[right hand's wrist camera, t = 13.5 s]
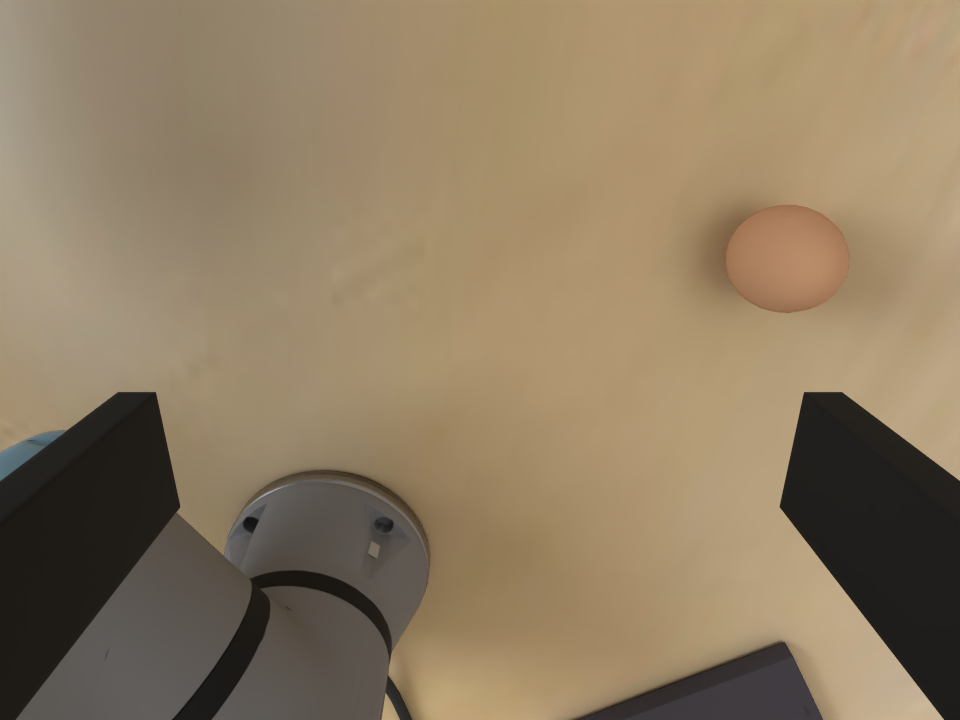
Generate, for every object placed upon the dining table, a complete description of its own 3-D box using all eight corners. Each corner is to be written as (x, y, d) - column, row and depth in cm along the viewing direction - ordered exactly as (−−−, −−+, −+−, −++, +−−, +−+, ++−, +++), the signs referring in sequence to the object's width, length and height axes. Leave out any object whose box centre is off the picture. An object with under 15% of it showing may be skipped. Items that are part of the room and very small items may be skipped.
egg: (713, 301, 40) (766, 343, 33) (703, 210, 38) (757, 233, 30) (806, 280, 39) (882, 317, 32) (802, 187, 37) (881, 204, 30)
